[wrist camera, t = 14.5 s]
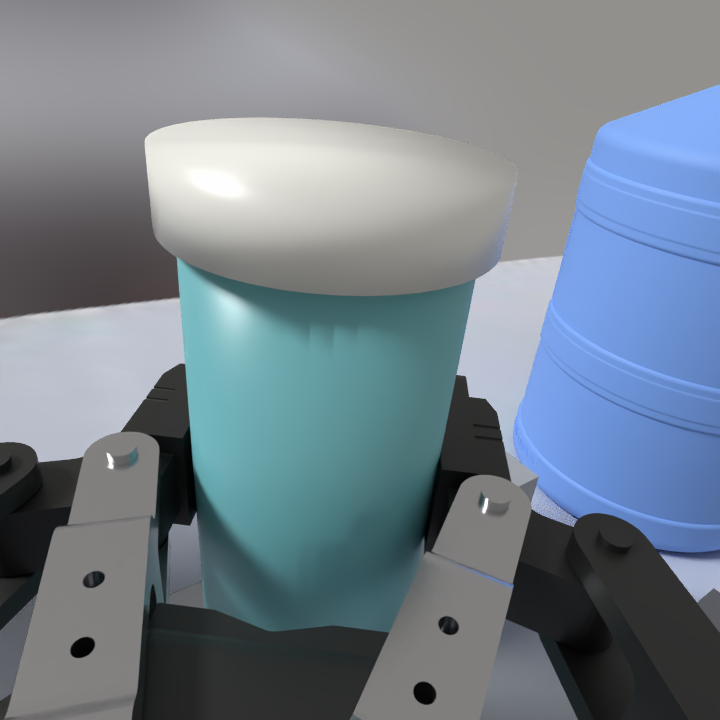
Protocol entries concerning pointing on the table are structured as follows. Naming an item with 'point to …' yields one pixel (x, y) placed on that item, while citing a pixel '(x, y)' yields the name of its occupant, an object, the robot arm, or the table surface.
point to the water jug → (637, 334)
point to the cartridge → (320, 348)
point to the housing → (513, 658)
